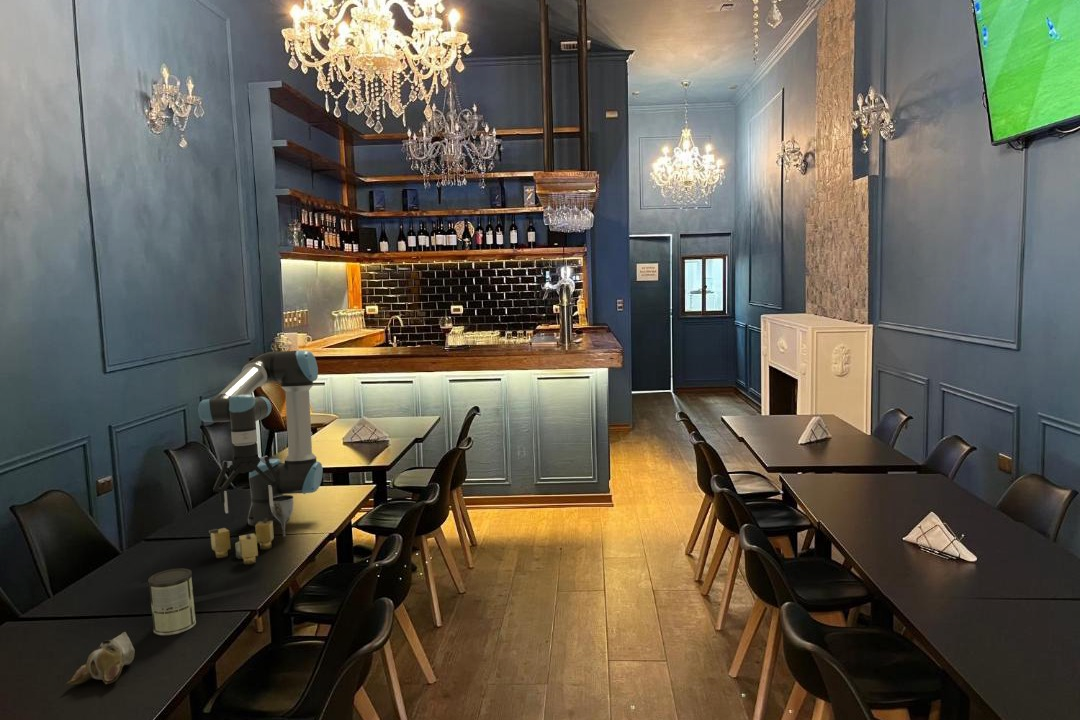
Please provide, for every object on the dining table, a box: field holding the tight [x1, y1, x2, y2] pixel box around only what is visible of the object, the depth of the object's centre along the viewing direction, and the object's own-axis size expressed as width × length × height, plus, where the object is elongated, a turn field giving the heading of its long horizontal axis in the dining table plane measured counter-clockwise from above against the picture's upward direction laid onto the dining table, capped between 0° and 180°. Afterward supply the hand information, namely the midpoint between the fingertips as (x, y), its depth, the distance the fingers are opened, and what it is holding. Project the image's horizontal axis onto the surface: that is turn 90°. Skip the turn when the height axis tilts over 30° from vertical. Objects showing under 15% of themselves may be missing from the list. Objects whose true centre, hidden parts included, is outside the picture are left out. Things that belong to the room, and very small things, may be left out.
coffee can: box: [147, 567, 197, 636], centre depth 203 cm, size 10×10×14 cm
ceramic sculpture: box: [66, 631, 136, 685], centre depth 179 cm, size 11×9×15 cm
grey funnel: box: [270, 494, 295, 537], centre depth 272 cm, size 8×8×15 cm
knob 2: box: [238, 533, 259, 565], centre depth 246 cm, size 6×5×9 cm
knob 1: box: [208, 527, 231, 559], centre depth 253 cm, size 6×5×9 cm
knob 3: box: [254, 518, 275, 550], centre depth 260 cm, size 6×5×9 cm
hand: (249, 509), depth 248 cm, fingers open, 13 cm apart
